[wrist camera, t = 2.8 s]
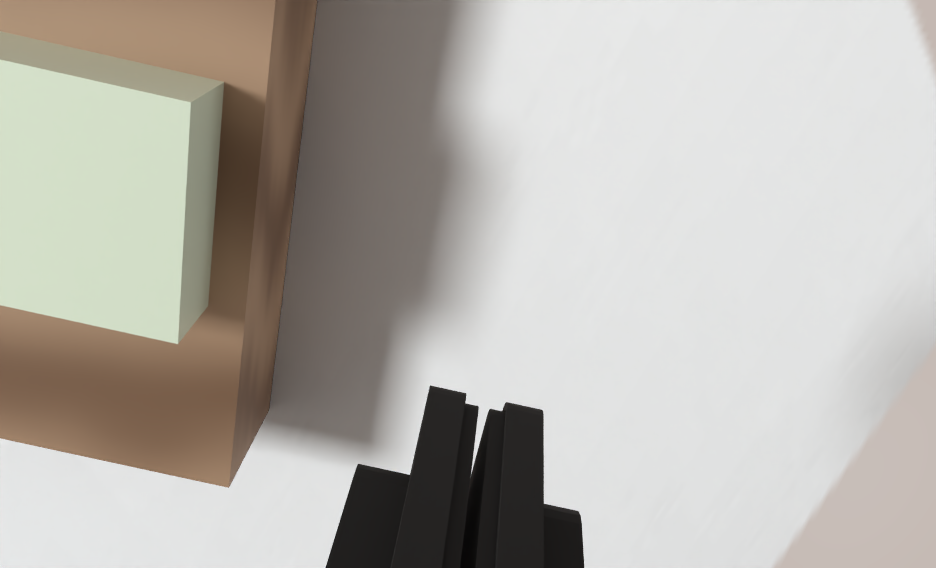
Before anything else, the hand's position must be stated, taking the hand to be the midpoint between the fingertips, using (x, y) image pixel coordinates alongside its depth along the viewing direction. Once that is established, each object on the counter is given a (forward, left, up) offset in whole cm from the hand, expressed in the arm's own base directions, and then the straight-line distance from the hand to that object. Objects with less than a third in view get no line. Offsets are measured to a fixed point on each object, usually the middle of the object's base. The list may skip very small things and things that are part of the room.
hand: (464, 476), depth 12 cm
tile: (-1, +11, -9) cm, 15 cm away
